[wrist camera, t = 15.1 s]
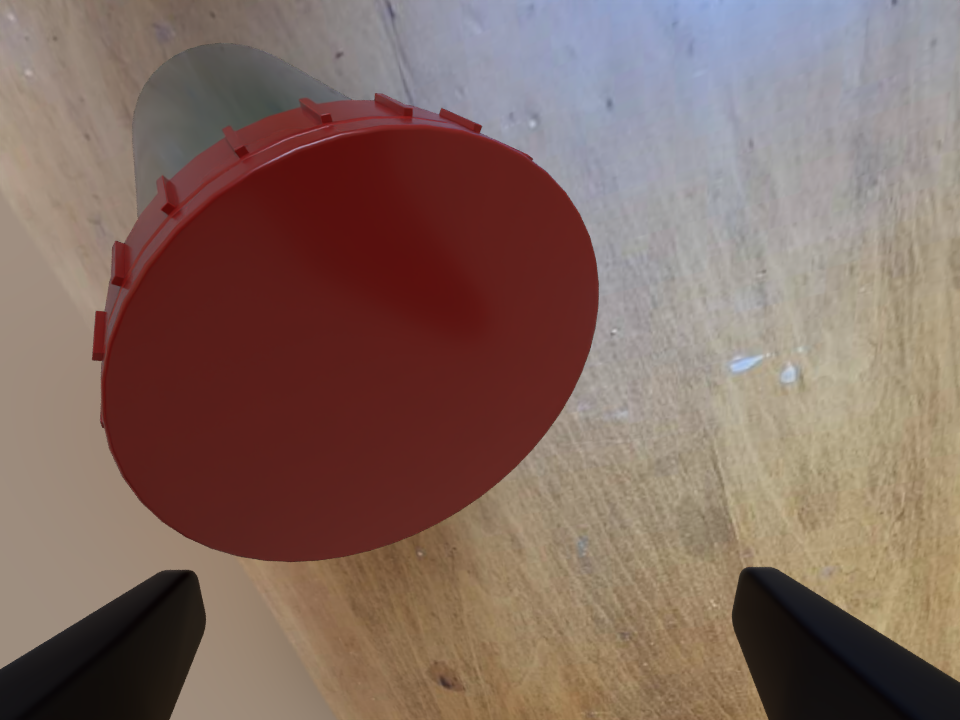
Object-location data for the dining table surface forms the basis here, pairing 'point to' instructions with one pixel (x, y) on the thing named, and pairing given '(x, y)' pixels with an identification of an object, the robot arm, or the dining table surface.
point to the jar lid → (340, 329)
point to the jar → (209, 105)
